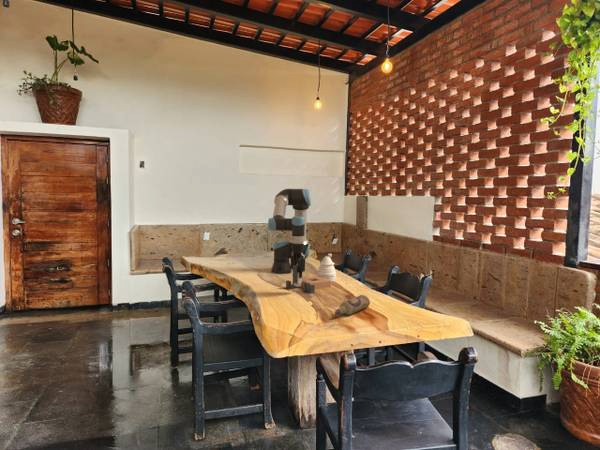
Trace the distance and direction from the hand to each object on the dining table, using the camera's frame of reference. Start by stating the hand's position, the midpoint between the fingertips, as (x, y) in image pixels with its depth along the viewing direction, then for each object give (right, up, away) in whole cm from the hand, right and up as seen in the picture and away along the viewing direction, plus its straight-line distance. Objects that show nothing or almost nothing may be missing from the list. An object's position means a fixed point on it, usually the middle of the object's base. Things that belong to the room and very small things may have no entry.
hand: (297, 282), depth 222 cm
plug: (0, -2, 0) cm, 2 cm away
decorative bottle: (+27, -10, -33) cm, 44 cm away
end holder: (+10, -5, +19) cm, 22 cm away
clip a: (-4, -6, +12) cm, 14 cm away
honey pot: (+20, -4, +37) cm, 42 cm away
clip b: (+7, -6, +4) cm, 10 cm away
